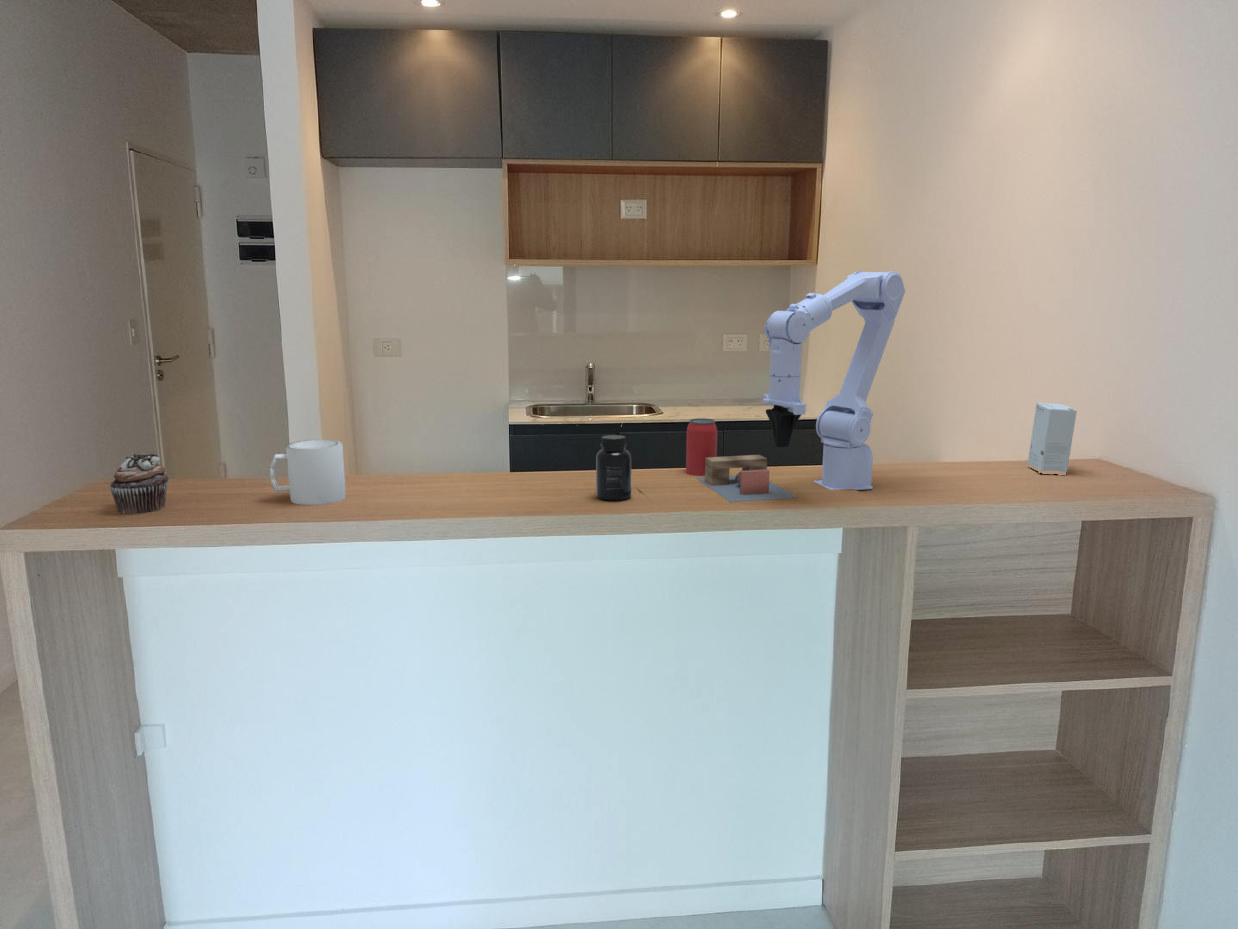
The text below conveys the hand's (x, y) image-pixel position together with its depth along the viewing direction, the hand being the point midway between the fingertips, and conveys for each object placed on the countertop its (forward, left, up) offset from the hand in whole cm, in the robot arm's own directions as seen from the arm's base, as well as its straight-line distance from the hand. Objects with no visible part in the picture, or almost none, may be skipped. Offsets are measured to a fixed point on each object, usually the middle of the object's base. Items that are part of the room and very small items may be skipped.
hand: (781, 446), depth 166 cm
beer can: (+8, -23, -11) cm, 27 cm away
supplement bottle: (+31, -9, -11) cm, 34 cm away
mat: (+4, -8, -10) cm, 14 cm away
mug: (+88, -22, -11) cm, 91 cm away
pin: (+4, -6, -10) cm, 12 cm away
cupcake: (+118, -22, -11) cm, 121 cm away
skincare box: (-68, -8, -11) cm, 69 cm away
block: (+4, -13, -10) cm, 17 cm away
